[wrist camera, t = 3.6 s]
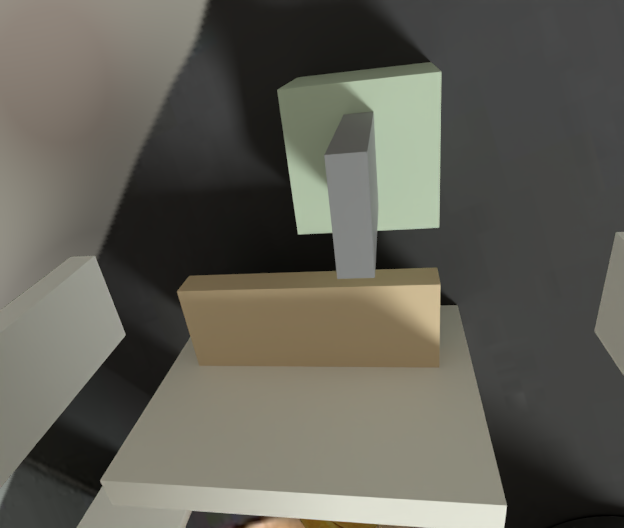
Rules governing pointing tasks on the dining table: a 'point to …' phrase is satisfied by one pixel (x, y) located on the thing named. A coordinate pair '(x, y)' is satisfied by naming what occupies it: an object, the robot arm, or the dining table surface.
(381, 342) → the wall board
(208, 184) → the dining table surface
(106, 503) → the milk
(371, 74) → the green block with handle
